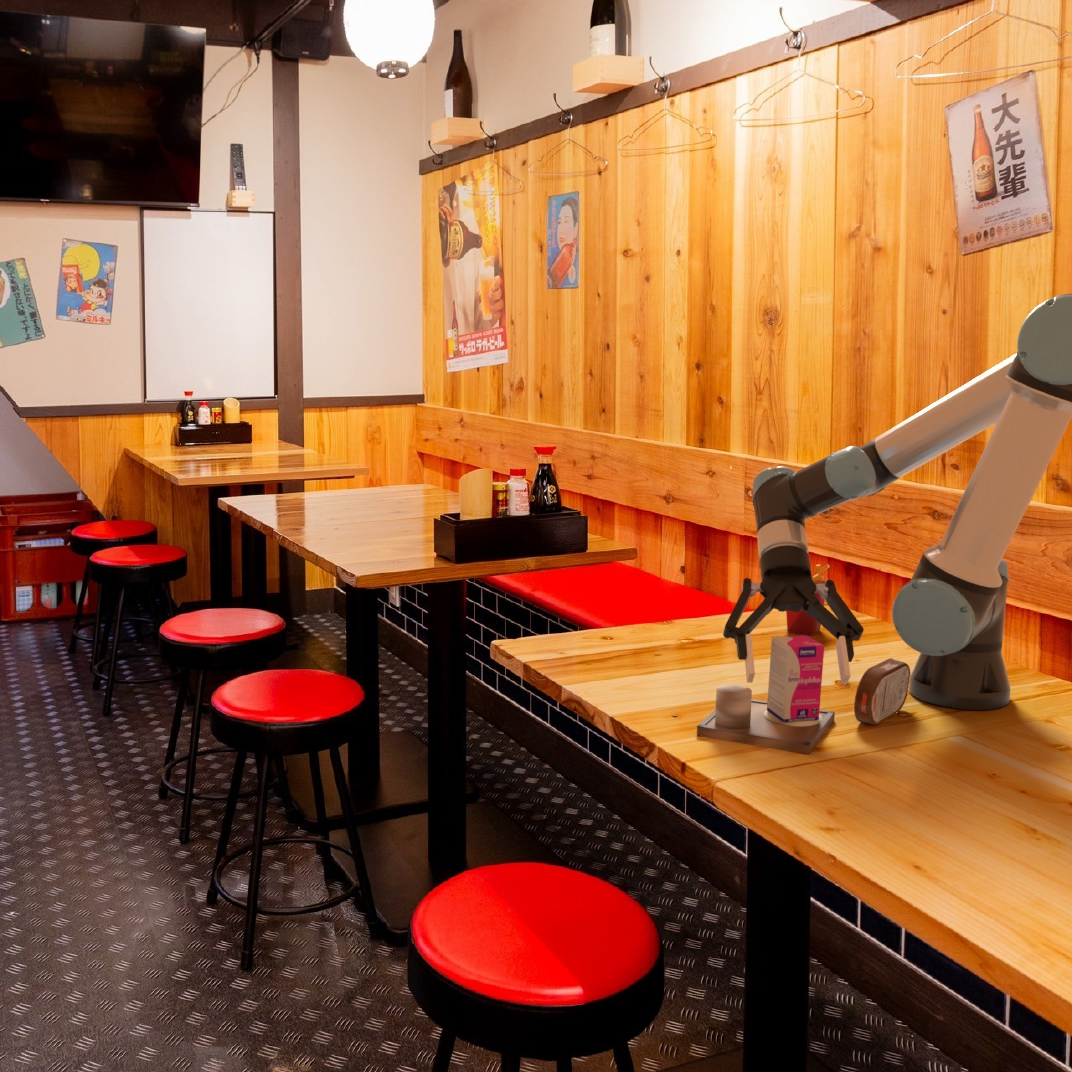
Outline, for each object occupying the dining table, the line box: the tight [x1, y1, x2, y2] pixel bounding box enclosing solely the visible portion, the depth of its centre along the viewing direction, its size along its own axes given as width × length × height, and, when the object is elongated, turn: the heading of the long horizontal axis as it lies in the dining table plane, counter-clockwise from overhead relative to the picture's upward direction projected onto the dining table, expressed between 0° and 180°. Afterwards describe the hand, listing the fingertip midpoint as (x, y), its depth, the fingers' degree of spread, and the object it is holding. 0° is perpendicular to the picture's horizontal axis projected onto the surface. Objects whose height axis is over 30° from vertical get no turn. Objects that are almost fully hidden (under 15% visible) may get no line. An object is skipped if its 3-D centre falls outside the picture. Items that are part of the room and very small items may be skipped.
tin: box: [853, 657, 911, 726], centre depth 174 cm, size 15×3×8 cm, turn 141°
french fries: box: [785, 564, 831, 637], centre depth 224 cm, size 9×8×15 cm
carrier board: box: [696, 684, 836, 755], centre depth 168 cm, size 16×16×6 cm
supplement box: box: [766, 634, 825, 722], centre depth 169 cm, size 6×6×12 cm
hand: (798, 679), depth 167 cm, fingers open, 13 cm apart
